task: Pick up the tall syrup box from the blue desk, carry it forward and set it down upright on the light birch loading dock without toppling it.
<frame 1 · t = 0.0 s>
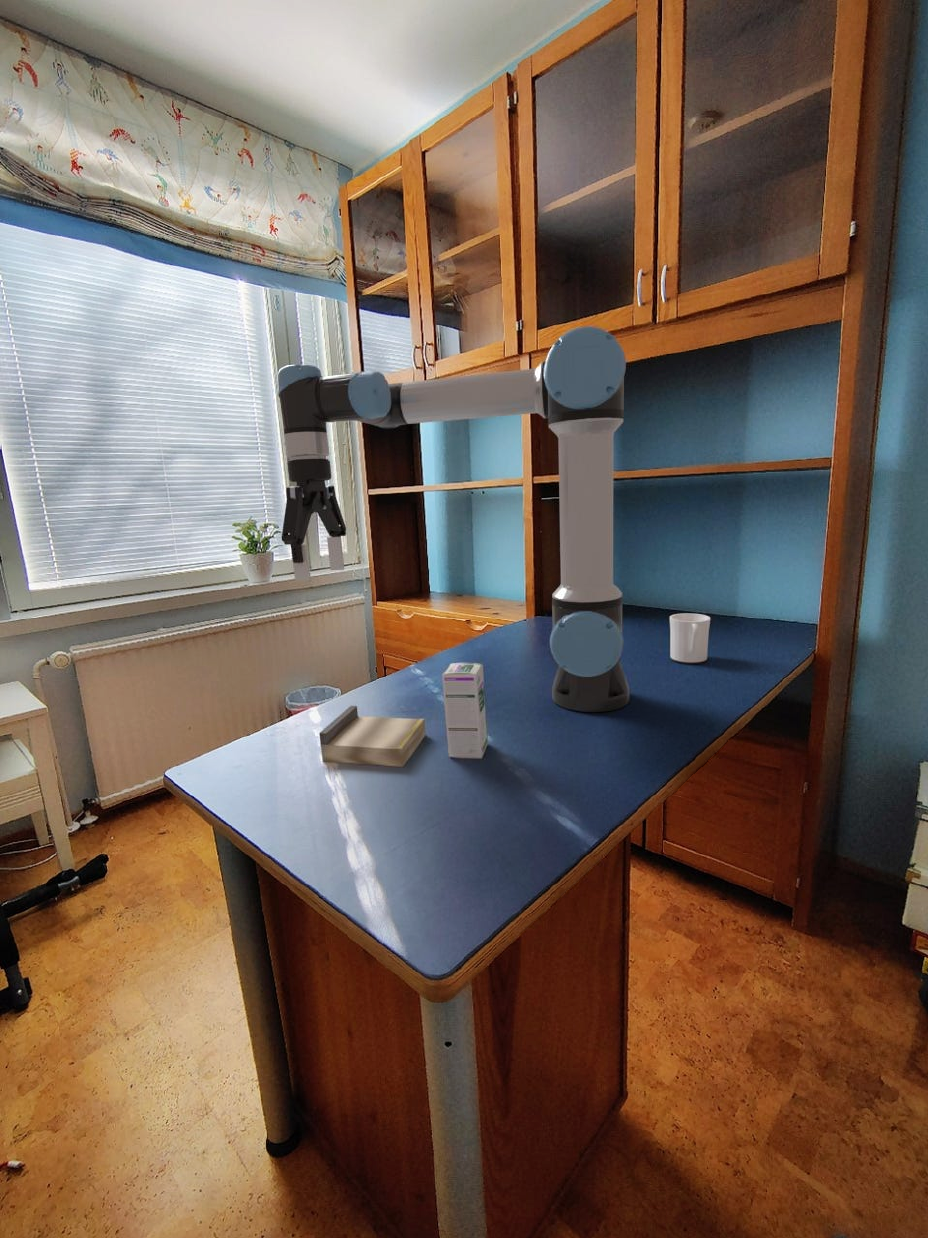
hand: (321, 575, 108), 28 cm above the table, fingers open, 13 cm apart
syrup box: (468, 751, 95), on the table
mug: (689, 661, 135), on the table
dock: (376, 747, 98), on the table
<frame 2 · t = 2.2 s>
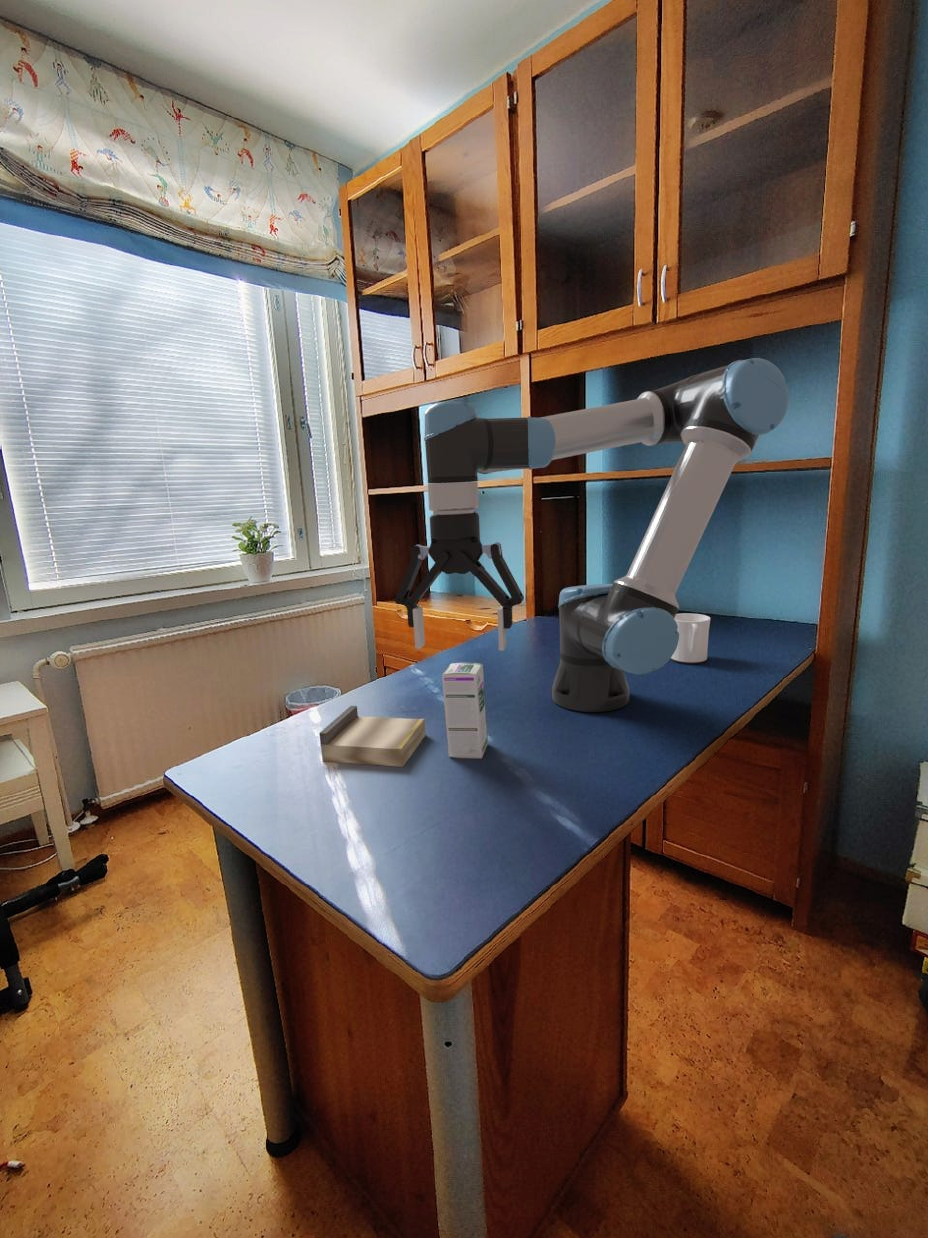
hand: (460, 647, 91), 18 cm above the table, fingers open, 13 cm apart
nothing on the table moved.
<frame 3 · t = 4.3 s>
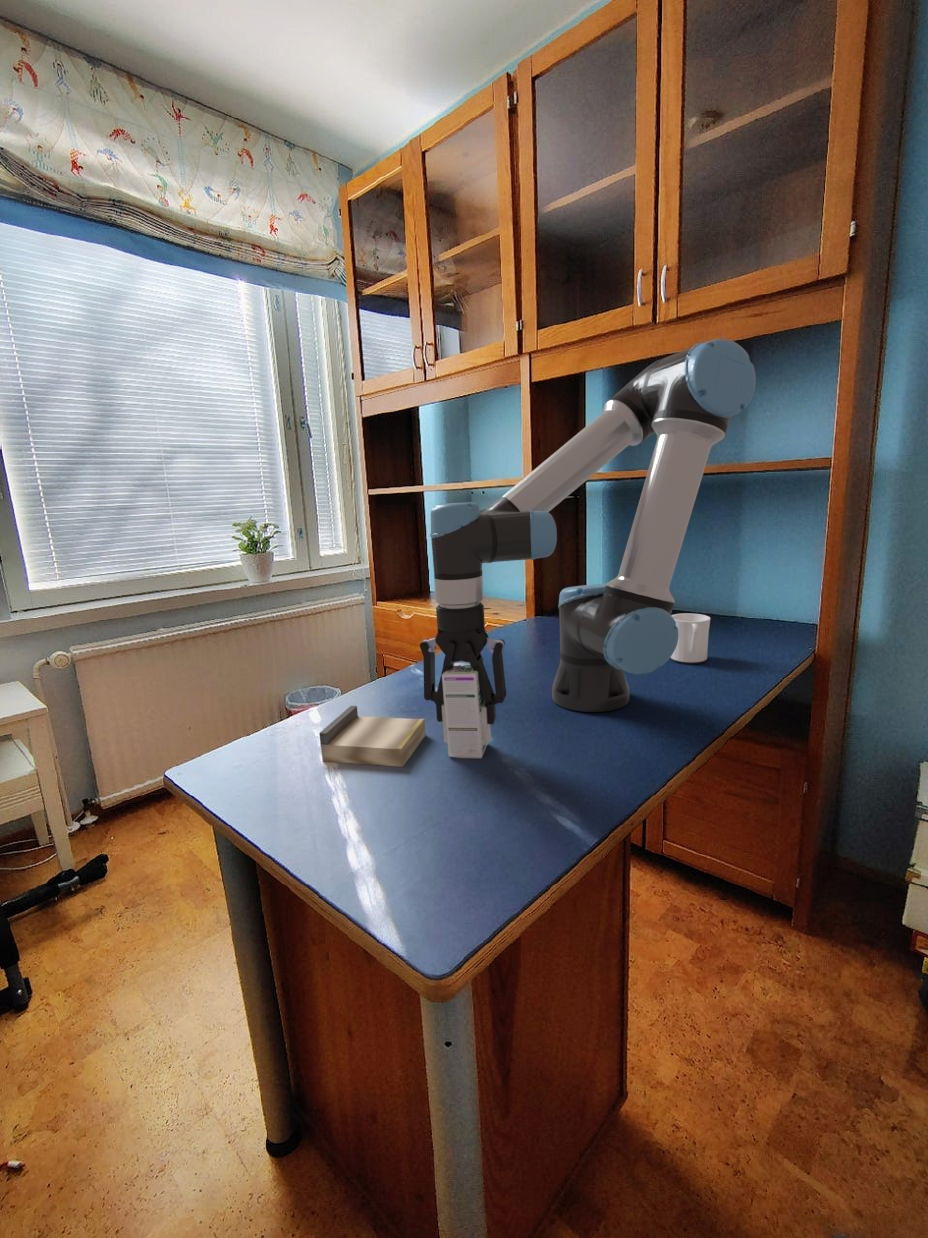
hand: (467, 740, 95), 2 cm above the table, fingers closed on syrup box, 6 cm apart
syrup box: (468, 751, 95), on the table, touching gripper
everything else where it was.
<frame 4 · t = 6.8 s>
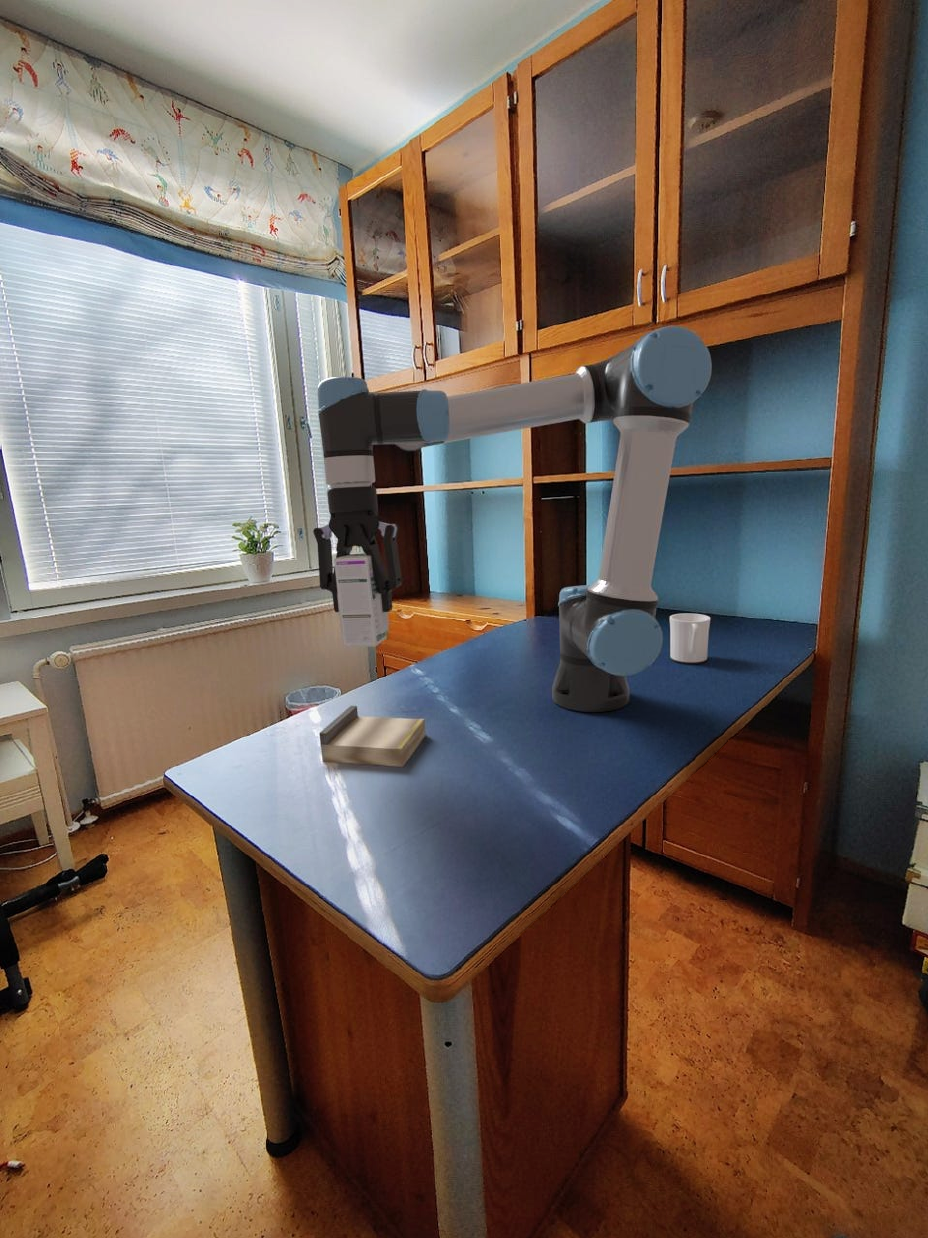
hand: (365, 631, 94), 21 cm above the table, fingers closed on syrup box, 6 cm apart
syrup box: (365, 643, 94), point 19 cm above the table, touching gripper
everything else where it was.
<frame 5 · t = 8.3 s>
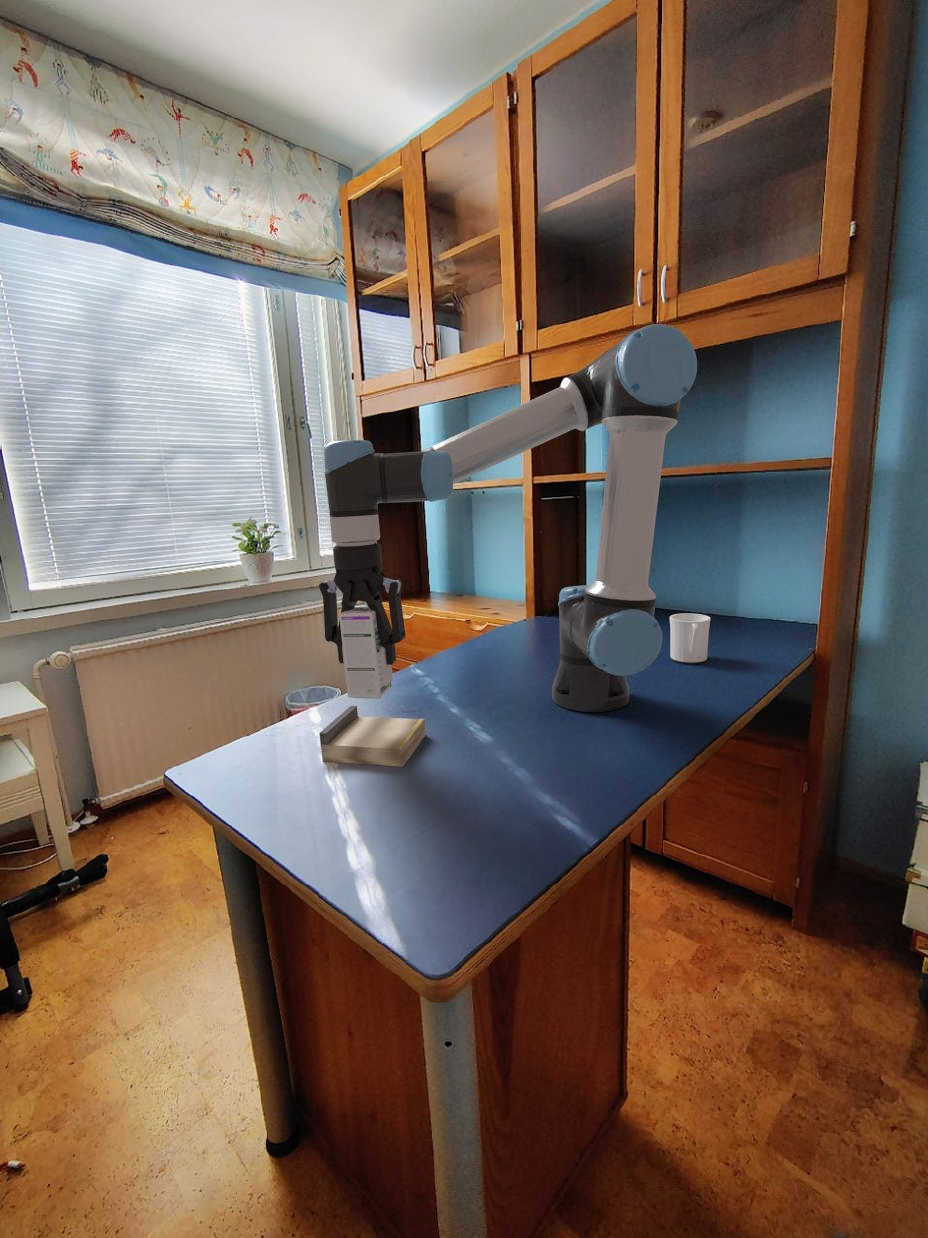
hand: (369, 682, 96), 12 cm above the table, fingers closed on syrup box, 6 cm apart
syrup box: (369, 693, 96), point 10 cm above the table, touching gripper
everything else where it was.
when the fingers open (6 cm above the table, at t = 9.7 s): syrup box drops 1 cm, resting on dock.
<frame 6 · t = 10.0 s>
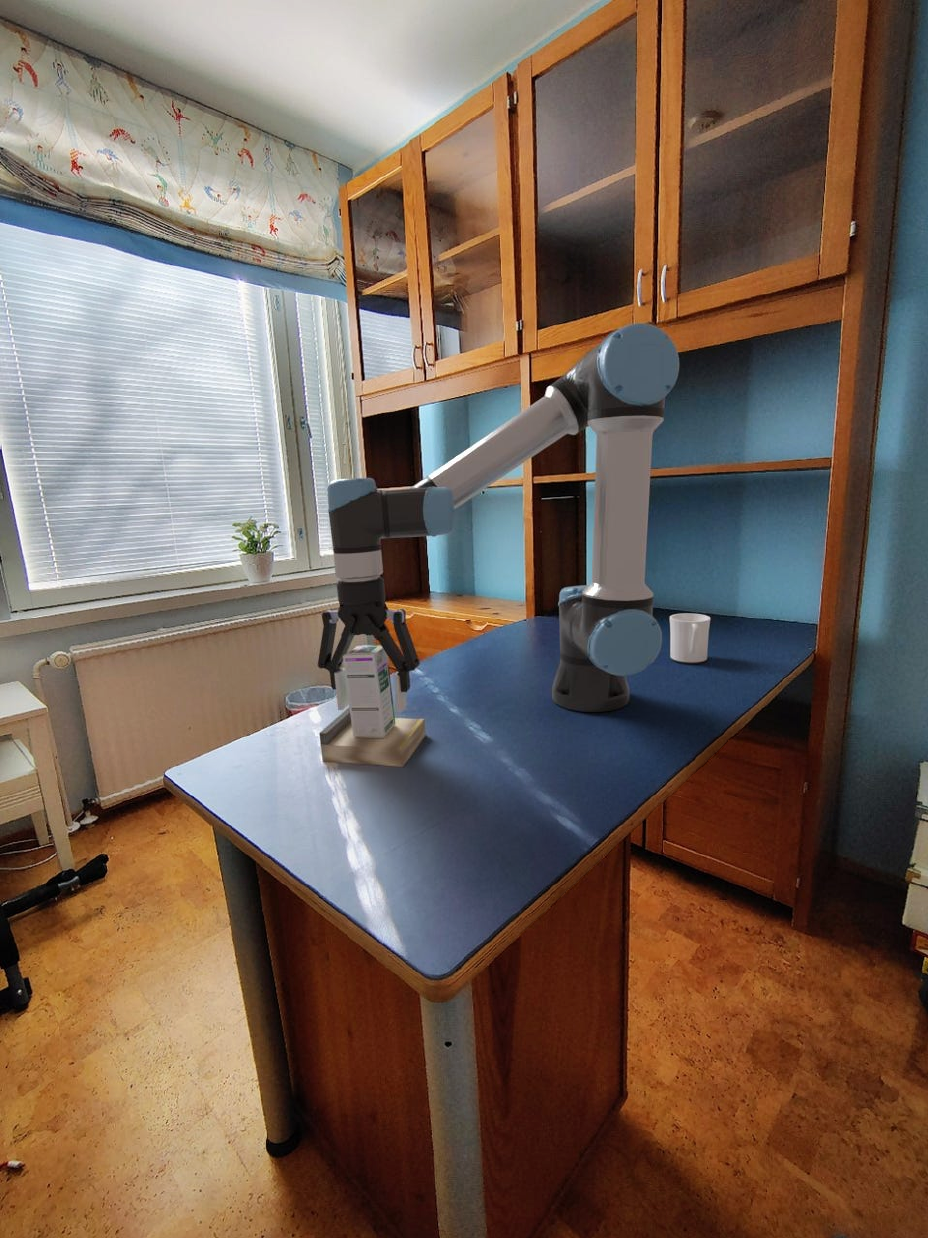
hand: (372, 708, 97), 7 cm above the table, fingers open, 10 cm apart
syrup box: (374, 732, 98), point 3 cm above the table, touching dock
everything else where it was.
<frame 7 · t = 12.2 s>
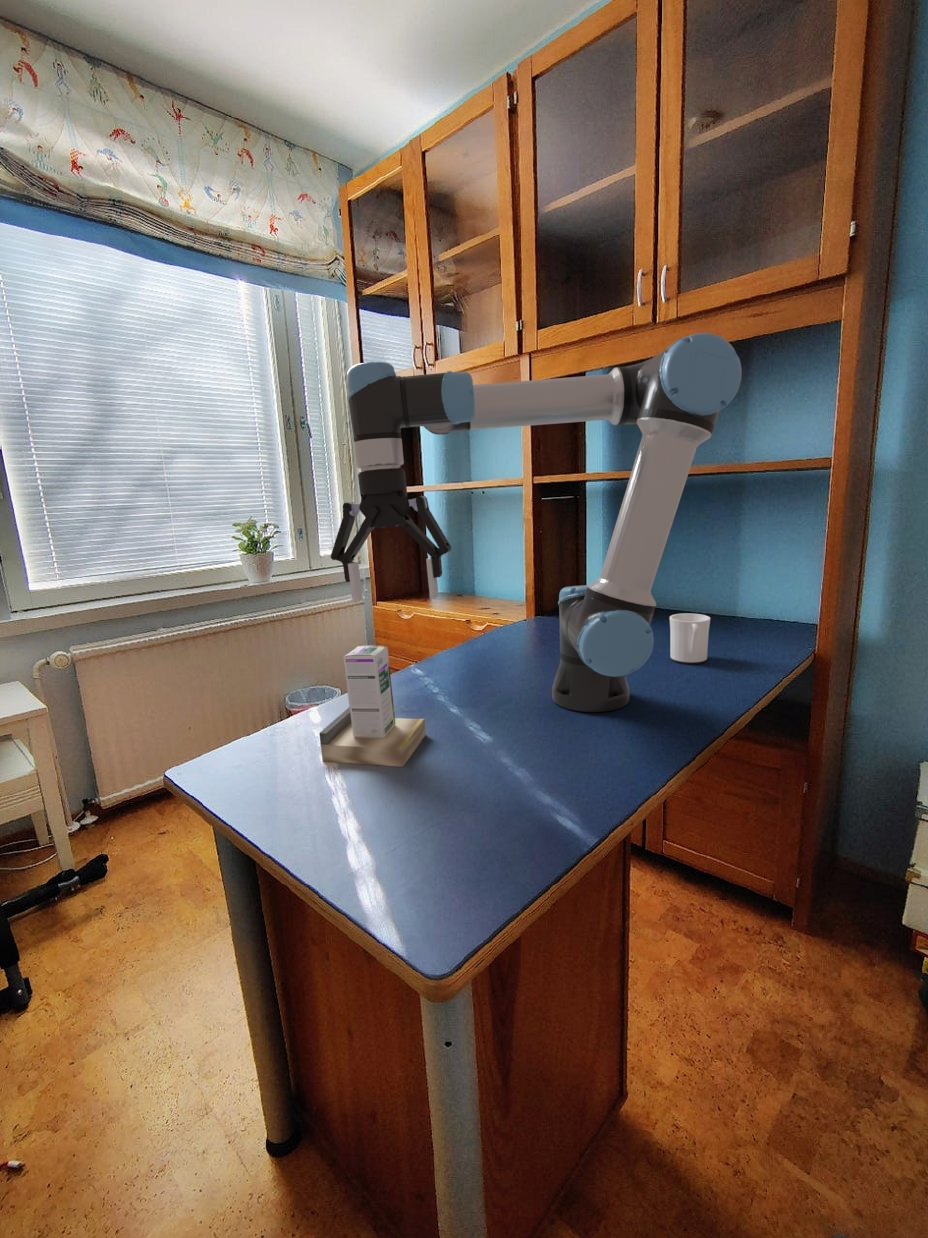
hand: (395, 599, 96), 25 cm above the table, fingers open, 13 cm apart
nothing on the table moved.
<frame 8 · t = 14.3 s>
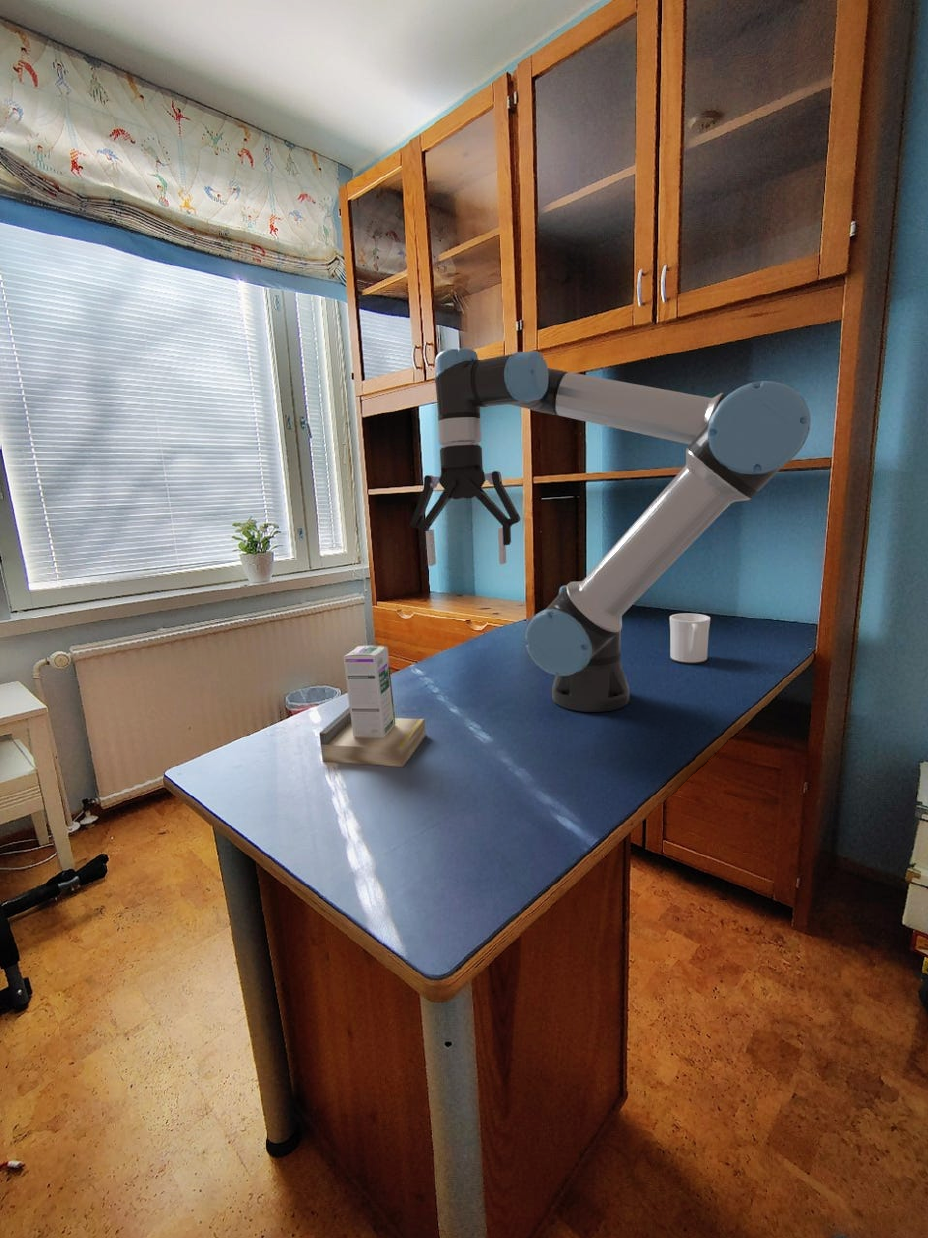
hand: (466, 564, 107), 29 cm above the table, fingers open, 13 cm apart
nothing on the table moved.
at the end: syrup box inside the target area on the dock (0.1 cm from its centre), point 2.8 cm above the dock's base; syrup box tilted 0°; the gripper is holding nothing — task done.
